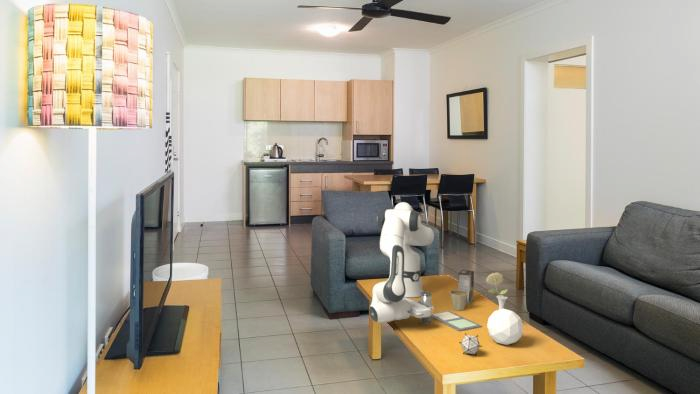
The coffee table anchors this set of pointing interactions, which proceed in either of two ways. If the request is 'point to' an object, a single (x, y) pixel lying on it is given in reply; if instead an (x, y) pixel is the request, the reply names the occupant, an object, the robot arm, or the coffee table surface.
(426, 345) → the coffee table surface
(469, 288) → the coffee box
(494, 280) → the flower in vase
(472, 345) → the game die
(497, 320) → the geometric sphere
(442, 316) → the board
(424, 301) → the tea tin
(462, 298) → the flower pot
